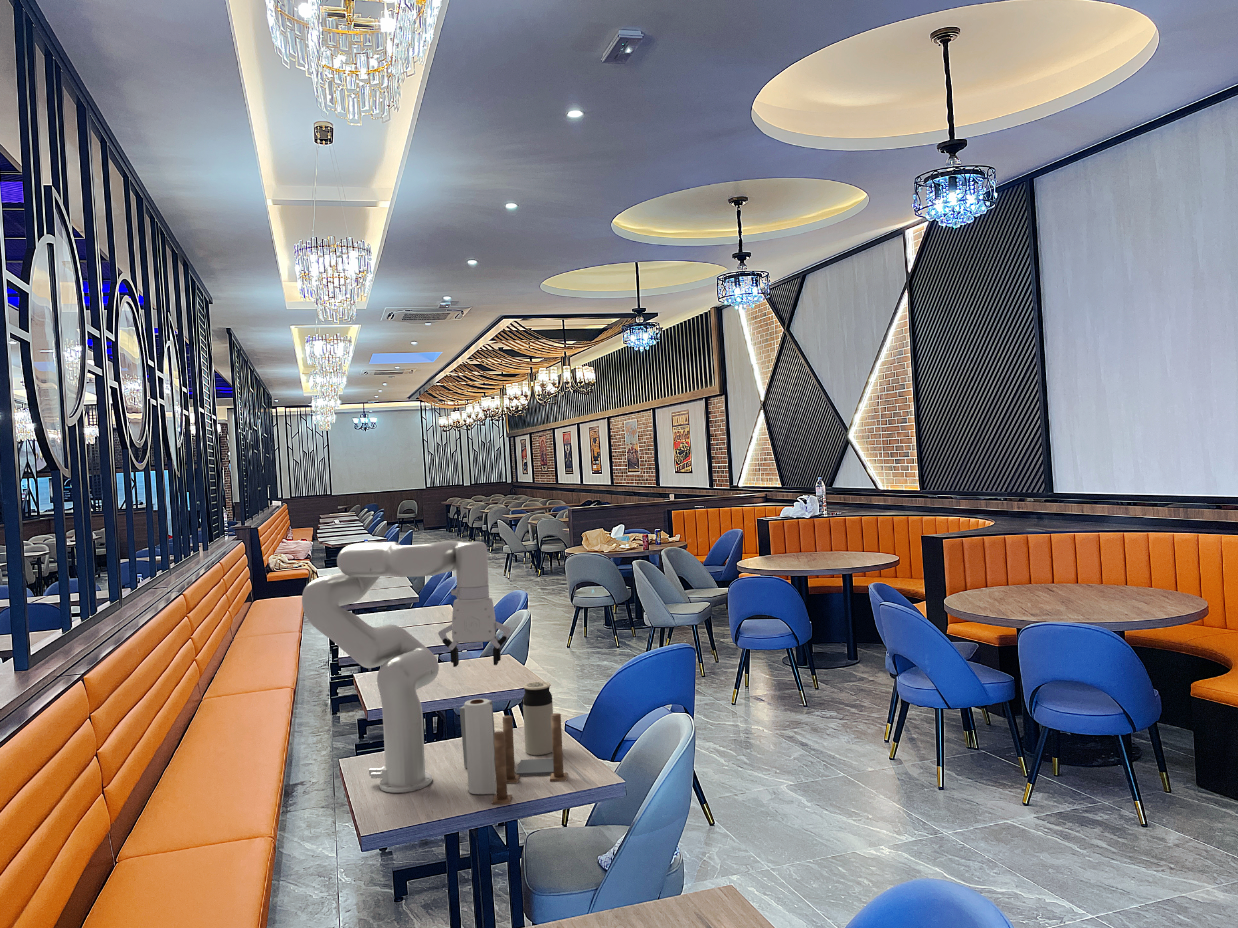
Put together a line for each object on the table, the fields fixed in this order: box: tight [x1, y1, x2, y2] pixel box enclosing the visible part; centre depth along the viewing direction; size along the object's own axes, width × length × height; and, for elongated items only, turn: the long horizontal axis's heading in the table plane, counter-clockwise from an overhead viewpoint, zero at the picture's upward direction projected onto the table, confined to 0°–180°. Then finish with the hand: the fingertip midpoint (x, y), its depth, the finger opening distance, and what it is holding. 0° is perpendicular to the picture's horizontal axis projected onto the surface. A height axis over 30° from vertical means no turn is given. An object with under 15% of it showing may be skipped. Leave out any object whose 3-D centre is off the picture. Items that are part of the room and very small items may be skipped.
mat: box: [515, 757, 554, 777], centre depth 218 cm, size 10×10×1 cm
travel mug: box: [522, 681, 554, 756], centre depth 232 cm, size 8×8×18 cm
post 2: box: [502, 715, 521, 784], centre depth 210 cm, size 4×4×16 cm
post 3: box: [549, 712, 569, 782], centre depth 210 cm, size 4×4×16 cm
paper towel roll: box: [463, 698, 497, 795], centre depth 204 cm, size 7×6×21 cm
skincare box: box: [459, 699, 496, 769], centre depth 224 cm, size 8×7×16 cm
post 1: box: [491, 730, 513, 805], centre depth 197 cm, size 4×4×16 cm
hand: (476, 664), depth 204 cm, fingers open, 9 cm apart
